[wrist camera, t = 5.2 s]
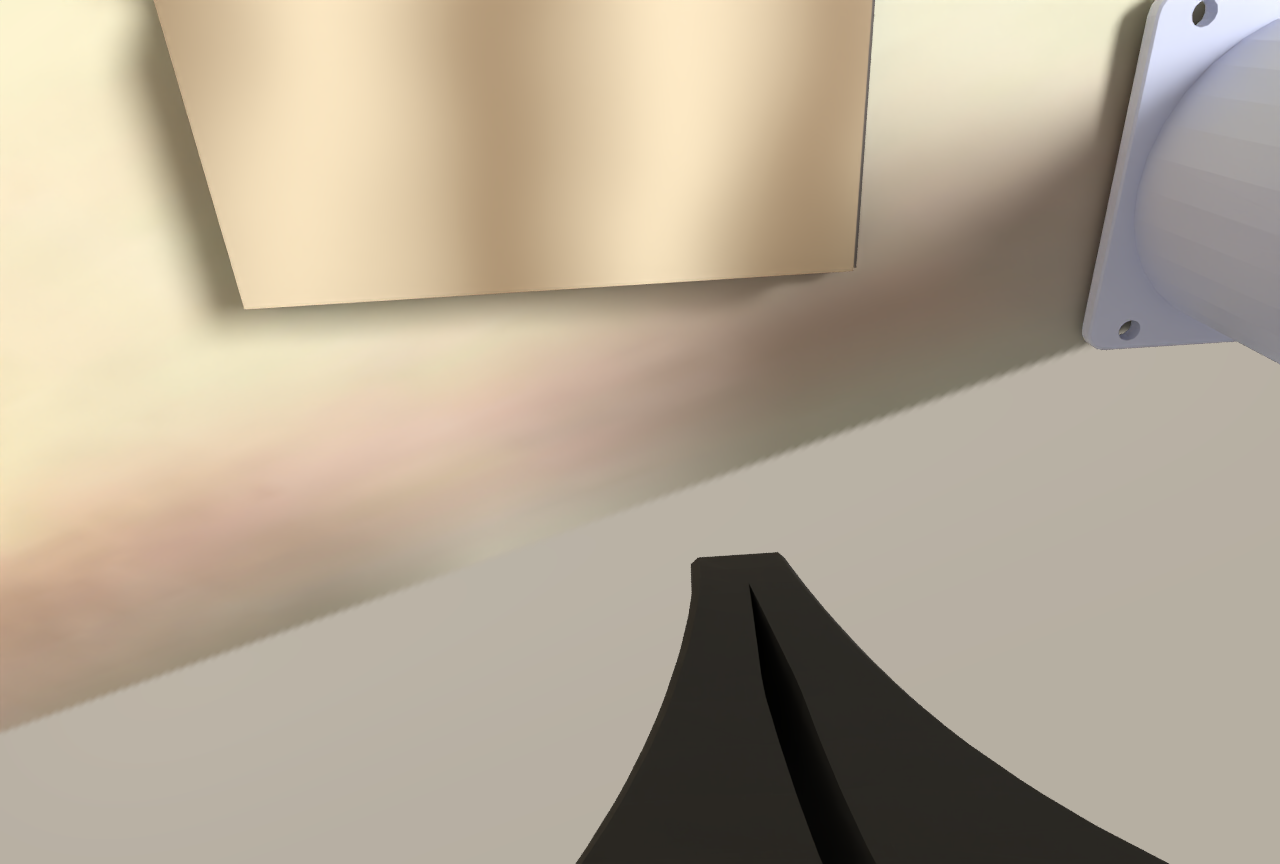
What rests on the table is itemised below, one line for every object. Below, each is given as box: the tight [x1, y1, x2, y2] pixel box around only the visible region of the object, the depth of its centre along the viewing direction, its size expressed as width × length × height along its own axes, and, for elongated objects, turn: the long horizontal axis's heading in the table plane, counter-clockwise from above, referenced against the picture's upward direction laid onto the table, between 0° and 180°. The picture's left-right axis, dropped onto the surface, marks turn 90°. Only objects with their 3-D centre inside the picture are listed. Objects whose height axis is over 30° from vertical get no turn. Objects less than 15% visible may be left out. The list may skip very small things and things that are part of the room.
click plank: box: [154, 0, 872, 309], centre depth 17 cm, size 13×7×2 cm, turn 93°
